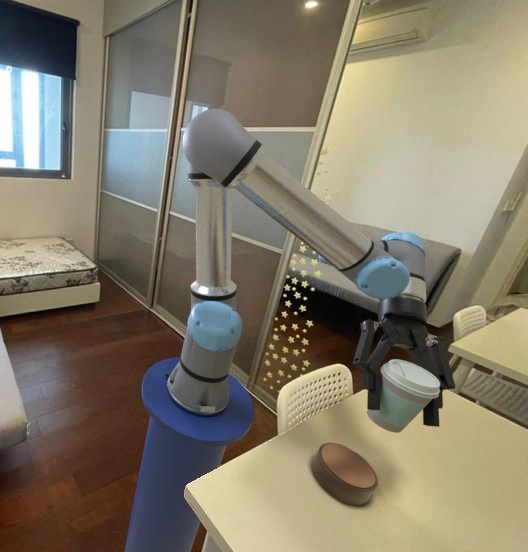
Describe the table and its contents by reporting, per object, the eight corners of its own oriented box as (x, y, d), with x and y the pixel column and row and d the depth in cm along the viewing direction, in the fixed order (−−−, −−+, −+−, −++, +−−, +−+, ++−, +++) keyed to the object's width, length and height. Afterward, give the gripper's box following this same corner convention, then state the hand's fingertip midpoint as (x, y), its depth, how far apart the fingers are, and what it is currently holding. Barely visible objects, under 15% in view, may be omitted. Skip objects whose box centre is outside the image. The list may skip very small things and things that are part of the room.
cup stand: (304, 474, 63) (311, 459, 62) (321, 447, 70) (328, 433, 68) (361, 517, 57) (371, 502, 55) (374, 482, 64) (383, 468, 62)
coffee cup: (370, 398, 68) (396, 352, 63) (418, 429, 62) (451, 381, 57) (350, 411, 64) (377, 364, 59) (400, 446, 57) (434, 396, 52)
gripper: (446, 320, 67) (453, 435, 59) (336, 296, 71) (328, 400, 64) (478, 310, 60) (490, 438, 52) (353, 284, 65) (348, 398, 57)
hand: (401, 417), depth 58 cm, fingers closed on coffee cup, 8 cm apart
